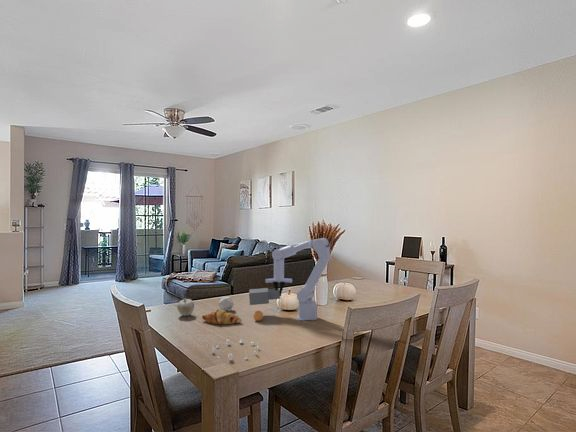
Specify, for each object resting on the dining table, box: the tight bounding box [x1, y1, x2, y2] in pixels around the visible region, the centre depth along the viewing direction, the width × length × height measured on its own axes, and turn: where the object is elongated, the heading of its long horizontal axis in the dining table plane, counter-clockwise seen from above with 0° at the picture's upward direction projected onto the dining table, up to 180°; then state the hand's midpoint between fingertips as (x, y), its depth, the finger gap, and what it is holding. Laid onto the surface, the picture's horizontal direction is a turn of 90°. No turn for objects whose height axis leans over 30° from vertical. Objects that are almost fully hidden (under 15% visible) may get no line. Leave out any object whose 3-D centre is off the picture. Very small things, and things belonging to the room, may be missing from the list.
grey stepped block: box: [248, 287, 281, 306], centre depth 191 cm, size 16×10×6 cm, turn 95°
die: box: [217, 296, 235, 312], centre depth 199 cm, size 8×9×10 cm
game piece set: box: [210, 337, 260, 362], centre depth 140 cm, size 19×20×4 cm
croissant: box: [201, 308, 242, 326], centre depth 178 cm, size 21×10×8 cm, turn 81°
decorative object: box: [177, 297, 195, 317], centre depth 189 cm, size 9×9×10 cm
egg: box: [253, 310, 264, 322], centre depth 181 cm, size 5×5×5 cm
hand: (278, 295), depth 191 cm, fingers closed on grey stepped block
